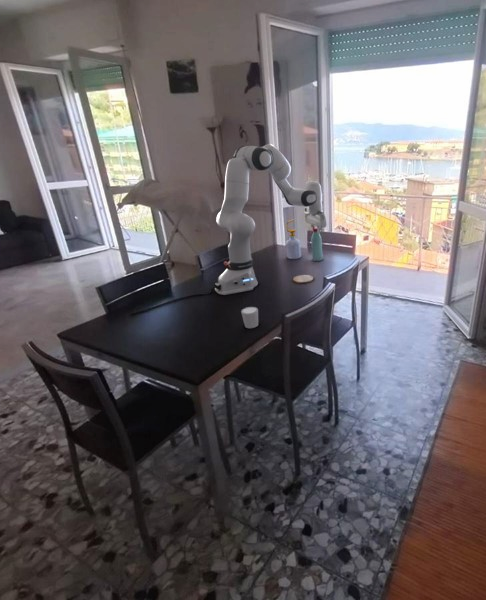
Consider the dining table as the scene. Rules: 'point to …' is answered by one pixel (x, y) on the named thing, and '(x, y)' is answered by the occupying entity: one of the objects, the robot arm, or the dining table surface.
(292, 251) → the soap bottle
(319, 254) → the bottle
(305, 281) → the coaster
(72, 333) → the dining table surface
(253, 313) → the white cylinder
